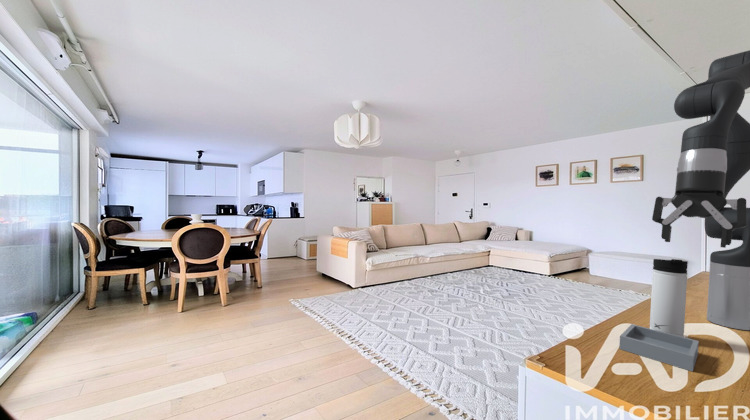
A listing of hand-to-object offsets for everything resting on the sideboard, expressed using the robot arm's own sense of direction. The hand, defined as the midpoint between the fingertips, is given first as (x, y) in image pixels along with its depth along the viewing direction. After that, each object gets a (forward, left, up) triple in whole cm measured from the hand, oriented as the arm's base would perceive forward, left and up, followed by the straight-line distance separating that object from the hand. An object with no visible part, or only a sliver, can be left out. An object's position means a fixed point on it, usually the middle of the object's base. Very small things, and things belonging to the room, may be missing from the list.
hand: (693, 244), depth 68 cm
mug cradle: (+6, -1, -24) cm, 25 cm away
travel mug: (-4, -9, -25) cm, 26 cm away
